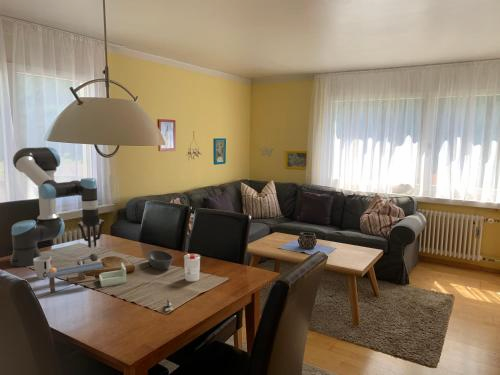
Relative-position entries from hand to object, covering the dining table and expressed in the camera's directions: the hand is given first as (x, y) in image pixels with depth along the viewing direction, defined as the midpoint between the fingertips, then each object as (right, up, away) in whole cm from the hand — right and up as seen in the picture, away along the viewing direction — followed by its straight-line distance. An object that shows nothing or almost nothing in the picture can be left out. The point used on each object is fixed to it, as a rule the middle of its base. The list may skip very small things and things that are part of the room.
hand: (92, 253), depth 191 cm
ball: (-10, -5, -21) cm, 23 cm away
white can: (+52, -13, -3) cm, 54 cm away
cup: (-24, -12, -3) cm, 27 cm away
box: (+13, -13, -7) cm, 20 cm away
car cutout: (+48, -19, -38) cm, 64 cm away
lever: (-4, -6, -10) cm, 12 cm away
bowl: (+31, -10, +15) cm, 36 cm away
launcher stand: (-6, -13, -9) cm, 17 cm away
